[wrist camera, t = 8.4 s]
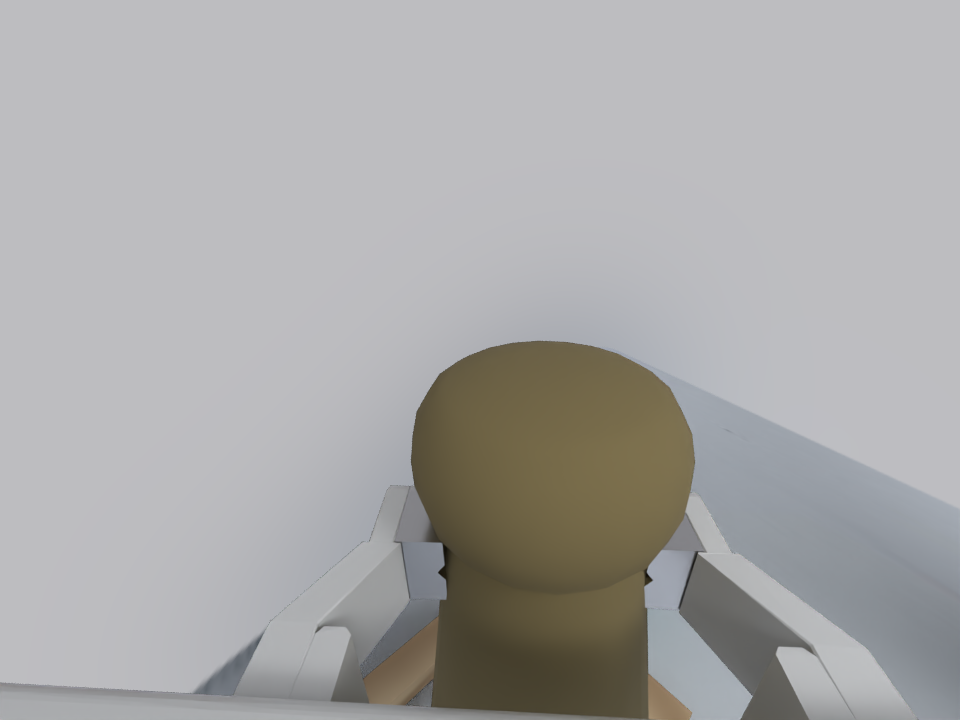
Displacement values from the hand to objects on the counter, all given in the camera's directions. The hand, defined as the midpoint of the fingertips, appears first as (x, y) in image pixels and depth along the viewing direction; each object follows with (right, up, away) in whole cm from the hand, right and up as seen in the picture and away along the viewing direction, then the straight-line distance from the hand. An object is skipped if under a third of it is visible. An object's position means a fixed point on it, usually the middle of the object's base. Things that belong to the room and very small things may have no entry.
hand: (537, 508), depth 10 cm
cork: (0, -7, +2) cm, 7 cm away
